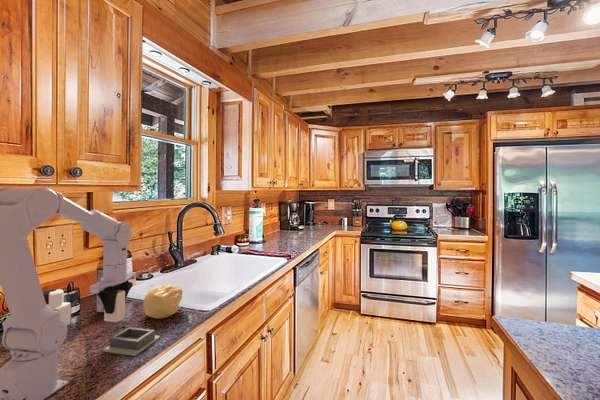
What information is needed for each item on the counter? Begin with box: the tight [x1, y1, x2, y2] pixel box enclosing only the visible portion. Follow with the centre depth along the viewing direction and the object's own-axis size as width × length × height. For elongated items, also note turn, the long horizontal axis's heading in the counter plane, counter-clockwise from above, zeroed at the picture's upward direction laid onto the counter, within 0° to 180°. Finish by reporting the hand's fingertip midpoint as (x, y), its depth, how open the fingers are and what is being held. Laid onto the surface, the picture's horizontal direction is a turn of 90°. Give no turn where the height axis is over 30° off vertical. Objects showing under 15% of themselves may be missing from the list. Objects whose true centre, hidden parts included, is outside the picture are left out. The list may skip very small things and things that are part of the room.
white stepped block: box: [42, 288, 72, 327], centre depth 91 cm, size 7×7×12 cm
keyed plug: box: [103, 290, 126, 323], centre depth 83 cm, size 3×5×8 cm, turn 81°
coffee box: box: [96, 265, 104, 313], centre depth 109 cm, size 9×6×16 cm
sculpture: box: [143, 283, 183, 319], centre depth 103 cm, size 12×12×11 cm
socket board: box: [102, 326, 161, 357], centre depth 83 cm, size 10×10×3 cm
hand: (114, 310), depth 83 cm, fingers closed on keyed plug, 3 cm apart
